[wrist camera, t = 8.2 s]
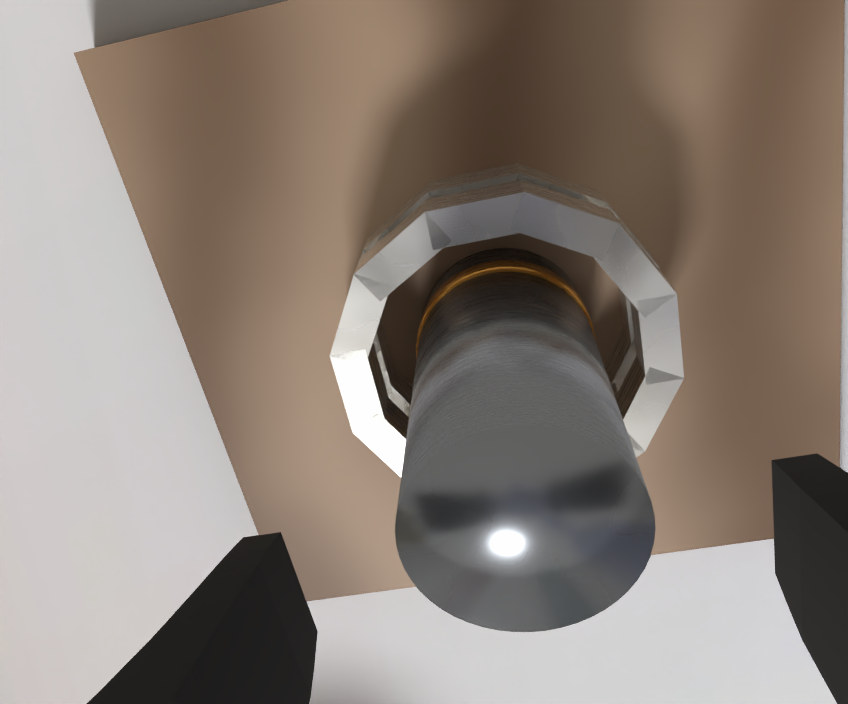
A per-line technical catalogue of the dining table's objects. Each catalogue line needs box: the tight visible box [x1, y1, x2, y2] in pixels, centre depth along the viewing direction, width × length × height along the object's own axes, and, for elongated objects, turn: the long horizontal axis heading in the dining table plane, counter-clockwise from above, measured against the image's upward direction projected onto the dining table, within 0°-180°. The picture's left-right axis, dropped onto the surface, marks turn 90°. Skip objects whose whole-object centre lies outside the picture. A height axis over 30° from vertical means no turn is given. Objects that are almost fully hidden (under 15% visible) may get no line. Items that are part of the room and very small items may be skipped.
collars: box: [330, 163, 684, 477], centre depth 18 cm, size 7×7×3 cm
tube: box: [395, 248, 655, 632], centre depth 16 cm, size 4×4×8 cm
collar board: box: [74, 0, 844, 601], centre depth 20 cm, size 16×16×1 cm
